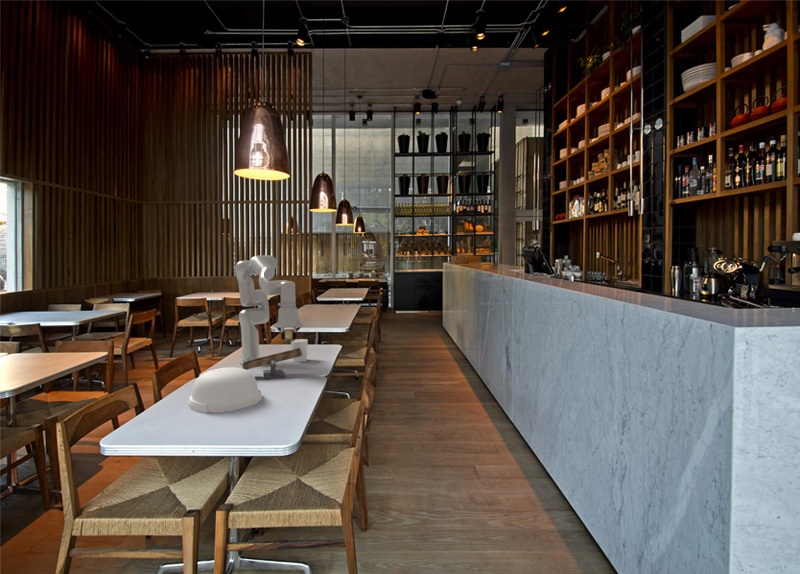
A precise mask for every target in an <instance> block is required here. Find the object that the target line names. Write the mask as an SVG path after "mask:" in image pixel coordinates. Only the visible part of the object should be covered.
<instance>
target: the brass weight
mask: <svg viewBox="0 0 800 574" xmlns="http://www.w3.org/2000/svg"><path fill="white" fill-rule="evenodd" d="M293 333H294V329H293V328H284V340H283V342H285V343H288V342H289V343H291V342H292V341H294V340H293Z"/></svg>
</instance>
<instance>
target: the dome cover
mask: <svg viewBox="0 0 800 574" xmlns="http://www.w3.org/2000/svg"><path fill="white" fill-rule="evenodd" d="M262 399H263V397H262V391H261V389H260V388H259V387H258V383H257V380H256V377H255V376H254V374H253V373H252V372H250V371H249V369H247V370H245V369H243V367H242V368H241V367H233V366H231V367H220V368H216V369H211V370H208V371H206V372H204V373H202V374H201V375H199V376H198V377H197V378H196V380H195V382H194V383H193V386H192V391H191V395H190V396H189V399H188V405H187V407H188V408H189V409H190V410H191V409H192V410H191V411H194V410H195V411H194V412H198V411H203V412H202V413H203V414H208V413H207V412H213V413H221V412H220V411H227V412H231V411H230V410H233V411H236V410H235V409H238V410H241V409H240V408H242V409H245V408H244V407H246V408H248V407H247V406H249V407H251V406H250V405H252V406H253V404H254V405H256V404H258V403H259V402H260V401H262ZM257 402H258V403H257ZM255 403H256V404H255Z"/></svg>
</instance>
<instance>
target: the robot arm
mask: <svg viewBox="0 0 800 574" xmlns="http://www.w3.org/2000/svg"><path fill="white" fill-rule="evenodd" d="M277 262H278V261H277V259H276V257H275V256H274V255H268V254H267V255H263V254H262V255H259V254H258V255H254V256H253V257H251V259H249V260H248V259H247V260H246V259H245V260H240V261H238V262H237V263H236V264H235V267H234V273H235V277H236V279H237V283H238V291H239V301H240V305H241V306H242V307H252V308H245V309H242V310H241V311H240V312H239V313H238V319H239V324H240V331H241V332H240V333H241V350H242V353H241V355H240V357H241V359H240V360H239V363H240V364H241V365H243V360H245V359H249V358H253V359H257V358H260V340H259V339H260V337H259V336H260V335H259V331H258V328H257V327H256V325H261V324H266V323H268V322H269V320H270V307H269V305H270V304H269V297H268V296H278V295H280V302H278V303H277V306H279V309H278V317H277V322H276V323H275V324H274V328H275V329H277V330H278V332H280V336H281V337H280V339H282V341H284V329H286V328H292V329H294V333H293V340H296V339H297V338H298V336H297V335H298V334H297V333H298V331H299V330H301V328H302V327H304V324H303V323H302V322H301V321H300V318H299V310H298V307H296V306H297V305H296V304H297V303H296V283H295V282H294V281H292V280H291V281H290V280H286V279H285V280H284V279H282V280H281V279H277V280H272V279H274V276H275V274H276V268H277V266H278V263H277ZM251 275H253V276H257V275H258V276H259V277H258V286H259V287H260V288H259V289H255V282H254V280H253V279H252V277H251ZM254 307H255V308H254Z"/></svg>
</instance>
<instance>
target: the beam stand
mask: <svg viewBox="0 0 800 574" xmlns="http://www.w3.org/2000/svg"><path fill="white" fill-rule="evenodd" d="M276 363H277V362H275V359H273V360H271V364H270V369H263V371H262V372H263V374H262V375H263V376H262V377H263V380H270V379H271V380H272V379H284V377H285V375H284V370H283V368H277V366H276V365H277V364H276Z"/></svg>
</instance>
